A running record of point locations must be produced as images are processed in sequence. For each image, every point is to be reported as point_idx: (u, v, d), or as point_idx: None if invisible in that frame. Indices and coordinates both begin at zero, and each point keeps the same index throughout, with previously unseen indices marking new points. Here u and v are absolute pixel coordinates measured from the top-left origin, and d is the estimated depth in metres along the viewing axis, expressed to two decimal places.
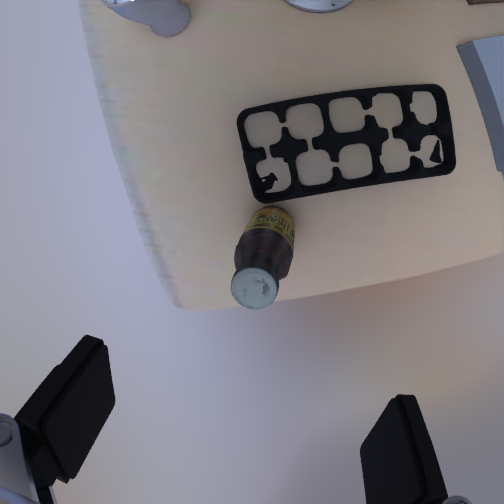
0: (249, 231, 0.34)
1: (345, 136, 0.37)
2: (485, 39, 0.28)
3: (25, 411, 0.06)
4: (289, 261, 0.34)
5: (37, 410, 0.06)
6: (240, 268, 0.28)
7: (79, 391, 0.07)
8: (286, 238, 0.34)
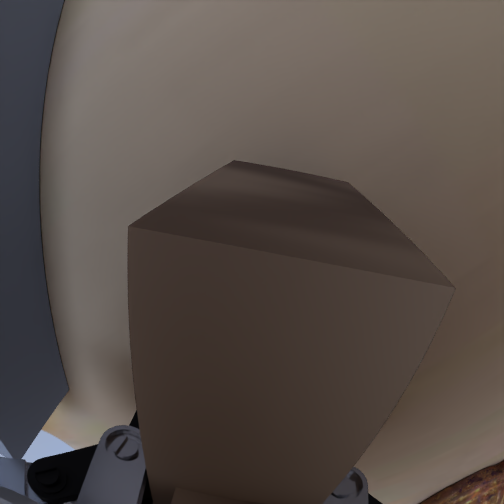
0: None
1: None
2: None
3: None
4: None
5: None
6: None
7: None
8: None
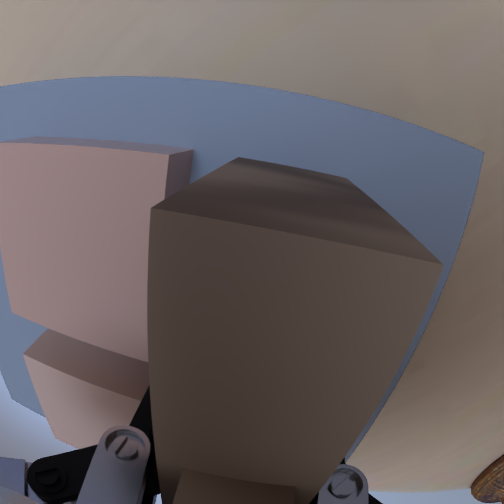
0: None
1: None
2: (458, 232, 0.09)
3: None
4: None
5: None
6: None
7: None
8: None
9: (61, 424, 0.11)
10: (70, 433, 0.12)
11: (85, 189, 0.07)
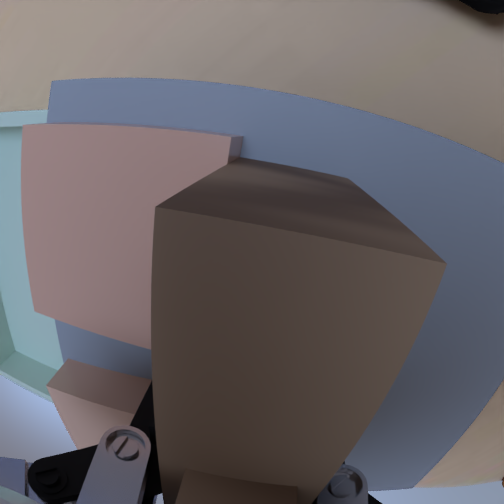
0: None
1: None
2: None
3: None
4: None
5: None
6: None
7: None
8: None
9: None
10: None
11: (132, 172, 0.07)
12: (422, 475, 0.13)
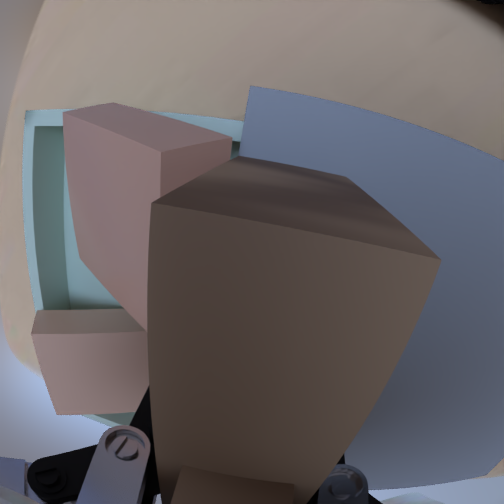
0: None
1: None
2: None
3: None
4: None
5: None
6: None
7: None
8: None
9: None
10: None
11: (111, 171, 0.07)
12: (497, 462, 0.13)
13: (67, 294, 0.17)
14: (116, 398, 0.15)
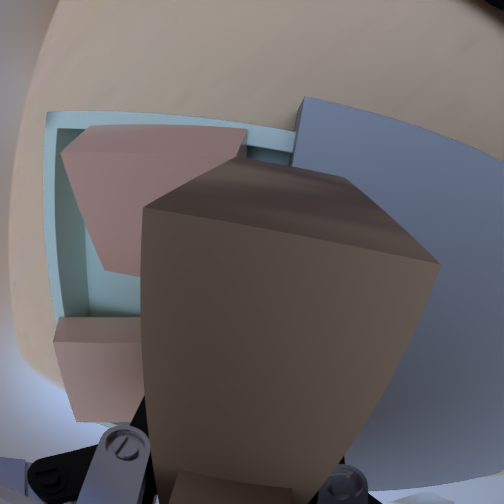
0: None
1: None
2: None
3: None
4: None
5: None
6: None
7: None
8: None
9: None
10: None
11: (164, 184, 0.10)
12: None
13: (87, 302, 0.16)
14: None
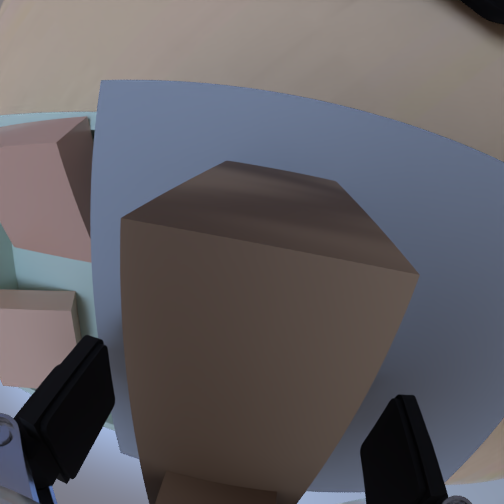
0: None
1: None
2: None
3: (25, 411, 0.06)
4: None
5: (37, 410, 0.06)
6: None
7: (79, 391, 0.07)
8: None
9: None
10: None
11: (24, 169, 0.10)
12: (452, 472, 0.13)
13: (15, 279, 0.17)
14: None
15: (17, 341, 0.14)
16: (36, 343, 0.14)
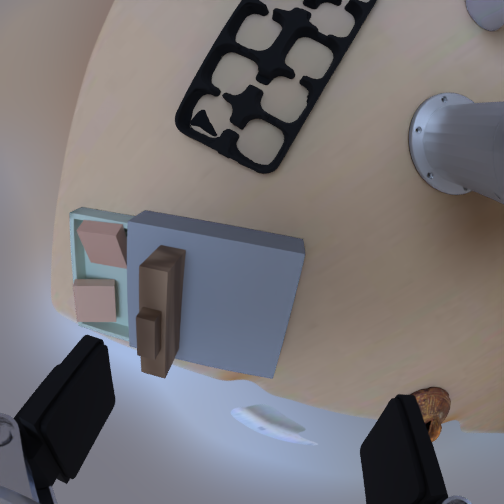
0: None
1: (293, 31, 0.28)
2: (298, 276, 0.35)
3: (25, 412, 0.06)
4: None
5: (37, 410, 0.06)
6: None
7: (79, 391, 0.07)
8: None
9: None
10: None
11: (103, 240, 0.37)
12: (273, 369, 0.40)
13: (85, 275, 0.44)
14: (101, 314, 0.42)
15: (89, 299, 0.41)
16: (98, 300, 0.41)
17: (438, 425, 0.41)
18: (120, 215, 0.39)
